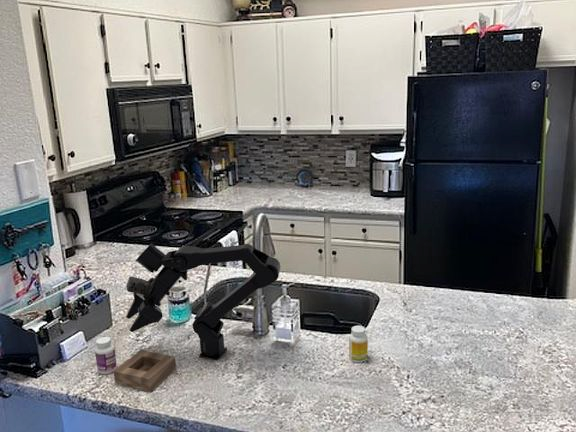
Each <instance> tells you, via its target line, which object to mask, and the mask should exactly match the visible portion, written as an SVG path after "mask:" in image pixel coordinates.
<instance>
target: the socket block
mask: <svg viewBox="0 0 576 432" xmlns="http://www.w3.org/2000/svg"><path fill="white" fill-rule="evenodd" d="M176 370H177V365H176V356H173V355H169V354H163V353H158V352H154V351H149V350H144V349H140V350H139V351H138V352H137V351H136V353H135V354H133V355H132V356H131V357H129V358H128V359H127V360H126V361H124V362H123V363H121V365H119V366H117V368H116V369H115V370H114V371H113V372H112V373H113V377H114V378H113V379H114V385H119V386H124V387H127V388H132V389H136V390H138V391H139V390H141V391H144V392H149V393H152V392H153V391H154V390H155V389H156V388H157V387H158V386H159V385H161V383H163V382H164V381H165V380H166V379H167V378H168V377H169V376H170V375H171V374H173V373H174V372H175V371H176Z"/></svg>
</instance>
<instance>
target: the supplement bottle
mask: <svg viewBox="0 0 576 432" xmlns="http://www.w3.org/2000/svg"><path fill="white" fill-rule="evenodd" d="M366 332H367V331H366V327H365V326H362V325H354V326H352V327H351V333H350V334H349V337H348V357H349V360H350V359H351V360H350V361H352V362H354V361H355V362H354V363H364V362H365V360H366V361H367V360H368V346H369V345H368V343H369V342H368V341H369V340H368V339H369V338H368V335H367V334H366ZM363 361H364V362H363Z"/></svg>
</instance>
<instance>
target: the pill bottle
mask: <svg viewBox="0 0 576 432" xmlns="http://www.w3.org/2000/svg"><path fill="white" fill-rule="evenodd" d="M95 343H96V347H95V349H94V354H95V362H96V369H97V371H98V373H99V374H100V375H108V374H112V373H114V372H113V371H114V370H115V369H117V368H118V365H117V356H116V349H115V346H114V344H113V343H112V340H111V337H109V336H102V337H99V338H97V339H96V341H95Z"/></svg>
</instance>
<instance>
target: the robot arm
mask: <svg viewBox="0 0 576 432" xmlns="http://www.w3.org/2000/svg"><path fill="white" fill-rule="evenodd" d="M135 261H136V262H137V263H138V264H139V265H141V266H142V267H143V268H144V269H145V270H147V271H148V272H149V273H152V274H153V273H155V272H156V273H157V272H158V271H159V270H160V271H159V272H158V273H157V274H156V275H155V277H153V276H152V277H150V278H149V279H148V280H146V279H144V278H139V277H136V276H129V278H128V280H127V283H126V286H125V288H126V291H127V292H129V293H131V294H132V295H133V300H132V304H130V307H129V309H128V311H127V314H126V315H125V316H126V318H127V319H128V320H130V319H131V318H133V317H134V316H136V315H137V317H136V318H135V319H134V321H133V323H132V325H131V326H130V328H129V332H131V333H134V332H136V331H138V330H140V329H143V328H144V327H146V326H149V325H151V324H155V323H160V321H161V320H162V319H163V311H162V310H161V305H162V301H163V299H164V298H165V297H166V296H168V297H169V296H170V294H171V289H173V287H174V286H175V285H176V284H177V282H178V281H179V280H180V279H181V278H182V279H183V280H184V281H187V280H188V279H189V277H188V271H190V270H193V269H195V268H198V267H201V266H203V265H210V264H211V265H212V264H219V263H222V264H223V263H229V262H230V263H231V262H232V263H233V262H243V263H245V264H246V265H247V266H248V267H249V269H250V270H251V271H252V273H251V275H250V276H249V277H248V278H246V279H245V280H244V281H242V283H240V284H238V286H237V287H236V288H234V289H233V290H232V291H230V292H228V294H226V295H225V296H224V297H223V298H222V299H220V300H219V301H218V302H216V303H214V304H211V303H210V301H208V302H206V304H205V305H204V306H203V307H199V309H198V311H197V312H196V314H195V316H194V321H193V322H192V331H194V333H195V334H196V335H197V337H198V338H199V349H200V354H199V355H198V356H199V358H203V359H209V360H214V361H218V360H220V358H222V357H223V355H224V354H225V353H227V352H228V347H225V339H224V338H225V337H224V333H222V330H223V328H224V322H223V320H221V319H223V317H224V316H225V315H228V313H229V312H231V311H232V310H233V309H234V308H235V307H237V306H238V305H240V304H241V303H242V302H243V301H244V300H246V299H247V298H248V297H250V296H251V295H252V294H254V293H255V292H256V291H257V290H260V289H263V288H266V287H268V286H270V285H272V284H274V283H275V282H276V281H277V280H278V278H279V276H280V272H281V263H280V261H279V260H278V258H275V257H273V256H272V257H271V256H270V255H269V254H267V253H266V252H264V251H262V250H260V249H258V248H256V247H254V246H253V245H251V244H250V243H244V244H239V245H230V246H229V245H227V246H219V247H209V248H203V247H199V246H198V247H197V246H192V245H183V246H180V247H179V248H178V249H176V250H170V251H167V252H166V254H165V253H164V252H163V251H162V250H160V249H158V247H157V246H156V245H155V244H154V243H150V244H149V245H148V246H147V247H146V249H145V250H144V251H142V253H141V254H139V256H138V257H137V258H136V260H135ZM162 266H163V267H162ZM161 267H162V268H161ZM160 268H161V269H160Z"/></svg>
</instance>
